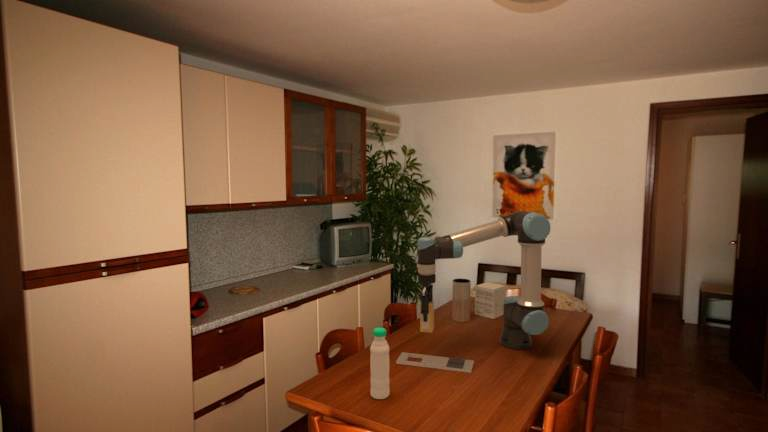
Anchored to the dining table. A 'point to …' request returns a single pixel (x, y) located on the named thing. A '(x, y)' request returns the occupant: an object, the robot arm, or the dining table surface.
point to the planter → (461, 300)
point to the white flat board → (437, 362)
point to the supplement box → (490, 300)
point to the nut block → (431, 318)
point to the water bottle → (379, 365)
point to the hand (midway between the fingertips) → (427, 326)
